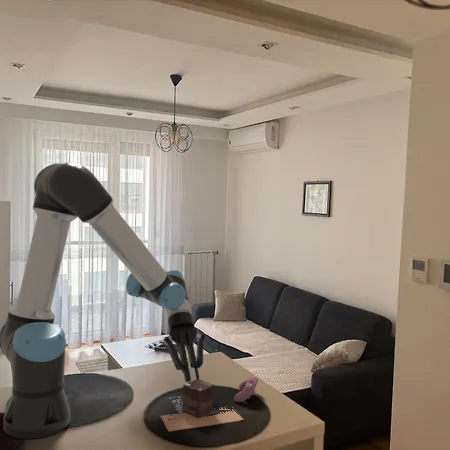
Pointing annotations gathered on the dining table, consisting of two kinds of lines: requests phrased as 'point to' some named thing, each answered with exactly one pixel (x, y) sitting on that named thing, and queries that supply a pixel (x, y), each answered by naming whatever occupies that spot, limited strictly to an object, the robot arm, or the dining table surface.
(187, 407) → the box
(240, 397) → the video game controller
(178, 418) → the t mat
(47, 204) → the robot arm
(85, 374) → the dining table surface
